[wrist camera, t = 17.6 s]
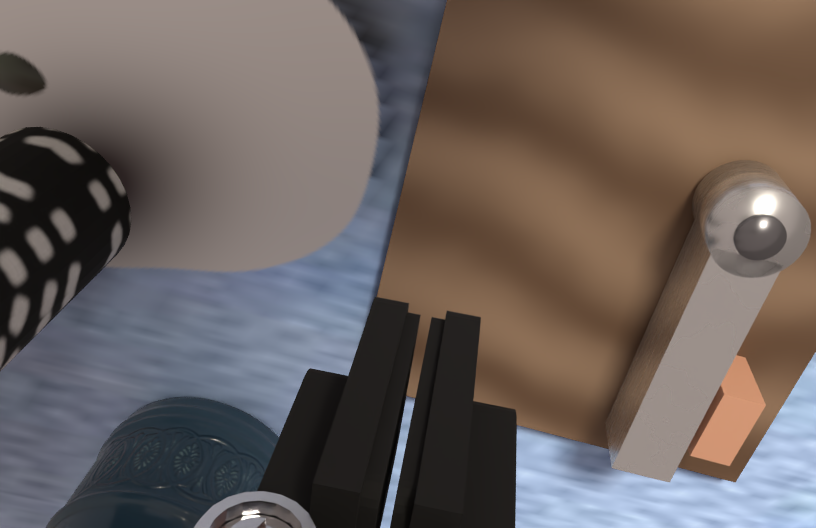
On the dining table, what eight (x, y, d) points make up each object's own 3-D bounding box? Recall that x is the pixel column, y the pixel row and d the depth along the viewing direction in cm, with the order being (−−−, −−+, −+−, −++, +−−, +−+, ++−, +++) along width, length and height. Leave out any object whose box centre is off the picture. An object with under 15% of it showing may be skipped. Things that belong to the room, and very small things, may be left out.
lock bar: (712, 150, 34) (733, 183, 30) (801, 172, 33) (831, 207, 30) (596, 420, 41) (602, 469, 38) (667, 437, 41) (680, 489, 38)
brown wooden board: (519, -302, 28) (519, -306, 27) (1105, -153, 28) (1124, -153, 27) (359, 371, 44) (356, 382, 43) (731, 469, 43) (735, 482, 43)
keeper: (707, 347, 39) (724, 394, 35) (745, 357, 39) (765, 405, 35) (676, 406, 41) (689, 455, 37) (712, 416, 41) (729, 466, 37)
